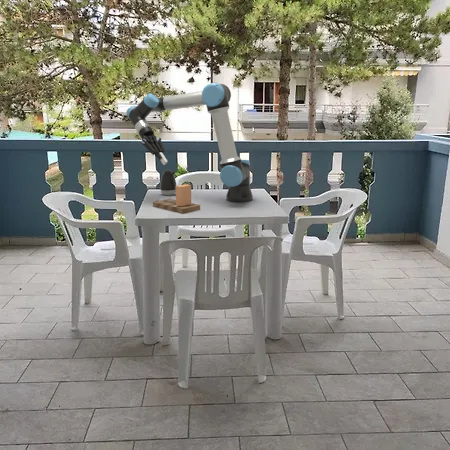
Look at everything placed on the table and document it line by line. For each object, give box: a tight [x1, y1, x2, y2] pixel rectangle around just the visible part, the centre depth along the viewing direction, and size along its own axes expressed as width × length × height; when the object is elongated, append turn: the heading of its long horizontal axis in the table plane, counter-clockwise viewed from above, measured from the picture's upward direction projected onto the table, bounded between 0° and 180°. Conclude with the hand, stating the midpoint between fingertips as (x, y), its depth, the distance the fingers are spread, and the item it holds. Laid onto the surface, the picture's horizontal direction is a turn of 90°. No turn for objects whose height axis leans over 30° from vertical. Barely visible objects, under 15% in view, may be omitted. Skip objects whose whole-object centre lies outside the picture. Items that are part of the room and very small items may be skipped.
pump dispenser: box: [159, 169, 178, 197], centre depth 268 cm, size 10×10×15 cm
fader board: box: [152, 198, 201, 215], centre depth 235 cm, size 24×12×3 cm, turn 47°
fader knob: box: [175, 184, 192, 206], centre depth 229 cm, size 4×7×10 cm, turn 137°
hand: (165, 163), depth 237 cm, fingers closed
